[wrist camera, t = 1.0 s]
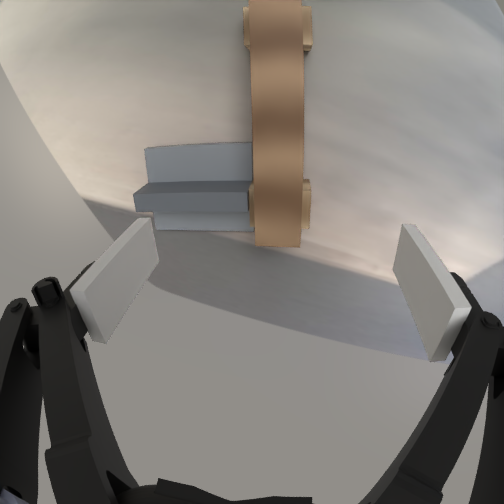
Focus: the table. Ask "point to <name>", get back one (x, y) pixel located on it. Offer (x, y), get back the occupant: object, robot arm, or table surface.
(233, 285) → the table surface
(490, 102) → the table surface
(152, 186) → the fulcrum
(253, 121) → the walnut bar
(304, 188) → the block
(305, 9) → the block
